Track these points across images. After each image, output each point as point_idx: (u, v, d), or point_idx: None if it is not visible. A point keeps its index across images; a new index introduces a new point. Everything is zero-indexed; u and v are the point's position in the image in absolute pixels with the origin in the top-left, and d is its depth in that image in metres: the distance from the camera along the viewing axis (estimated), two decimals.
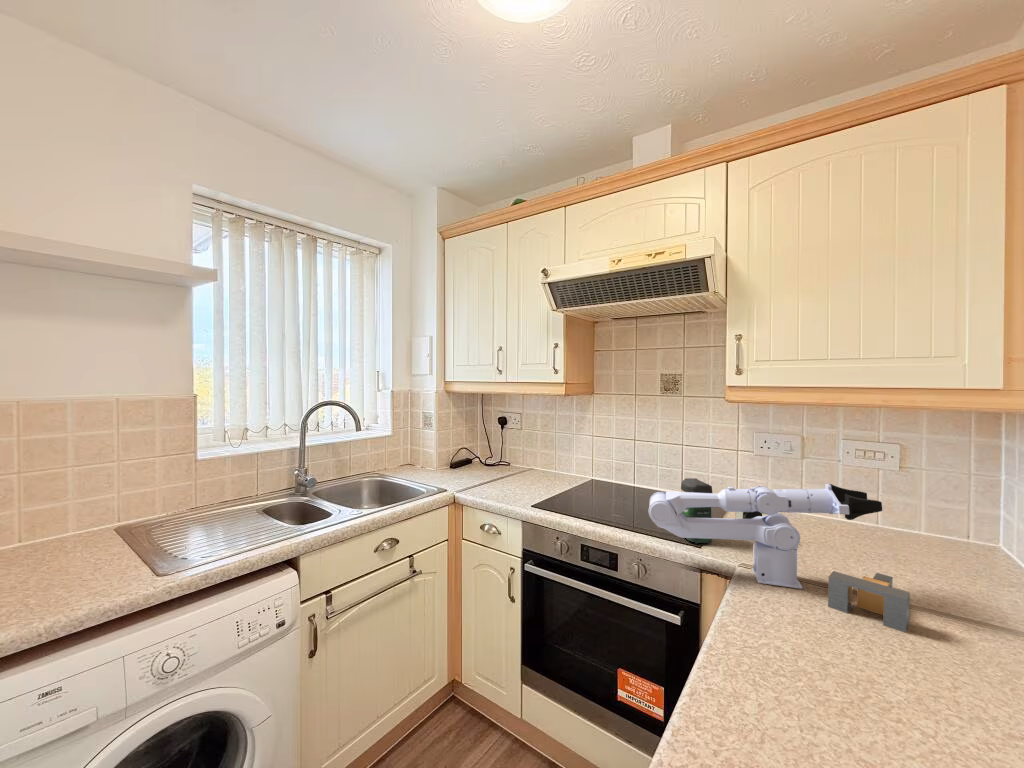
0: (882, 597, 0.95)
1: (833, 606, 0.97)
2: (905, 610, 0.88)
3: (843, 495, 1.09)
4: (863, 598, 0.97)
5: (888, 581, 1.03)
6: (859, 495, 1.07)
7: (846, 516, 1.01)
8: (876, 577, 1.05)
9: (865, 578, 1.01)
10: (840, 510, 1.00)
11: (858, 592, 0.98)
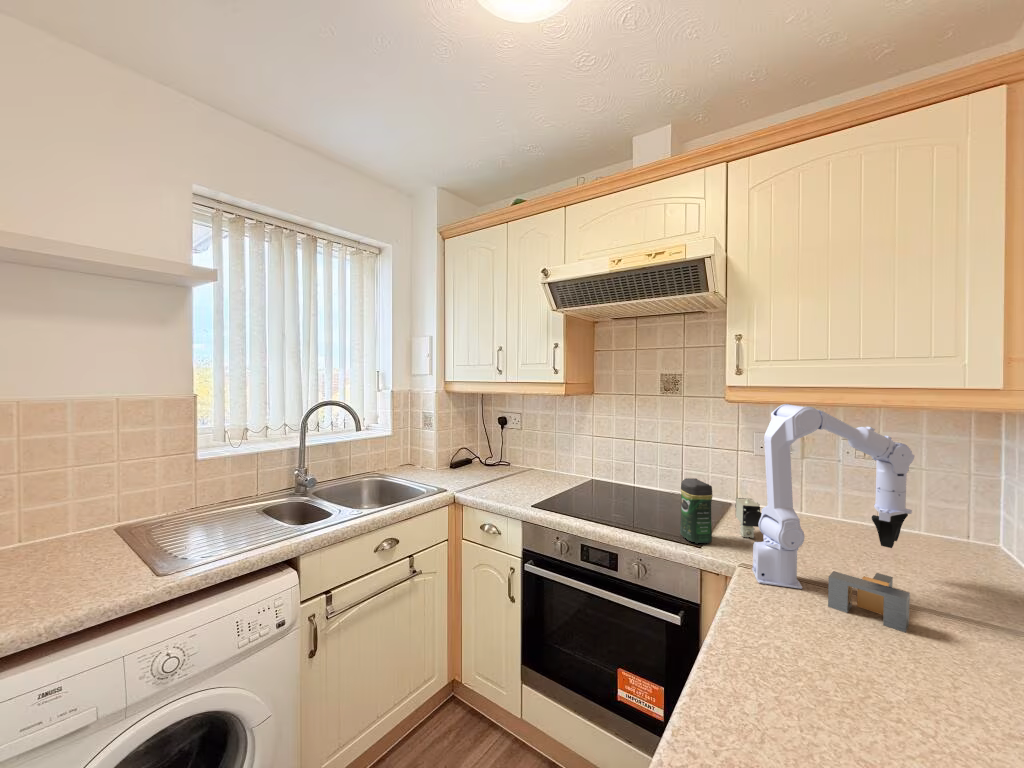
0: (882, 597, 0.95)
1: (833, 606, 0.97)
2: (905, 610, 0.88)
3: None
4: (863, 598, 0.97)
5: (888, 581, 1.03)
6: None
7: (875, 516, 1.09)
8: (876, 577, 1.05)
9: (865, 578, 1.01)
10: (884, 513, 1.05)
11: (858, 592, 0.98)
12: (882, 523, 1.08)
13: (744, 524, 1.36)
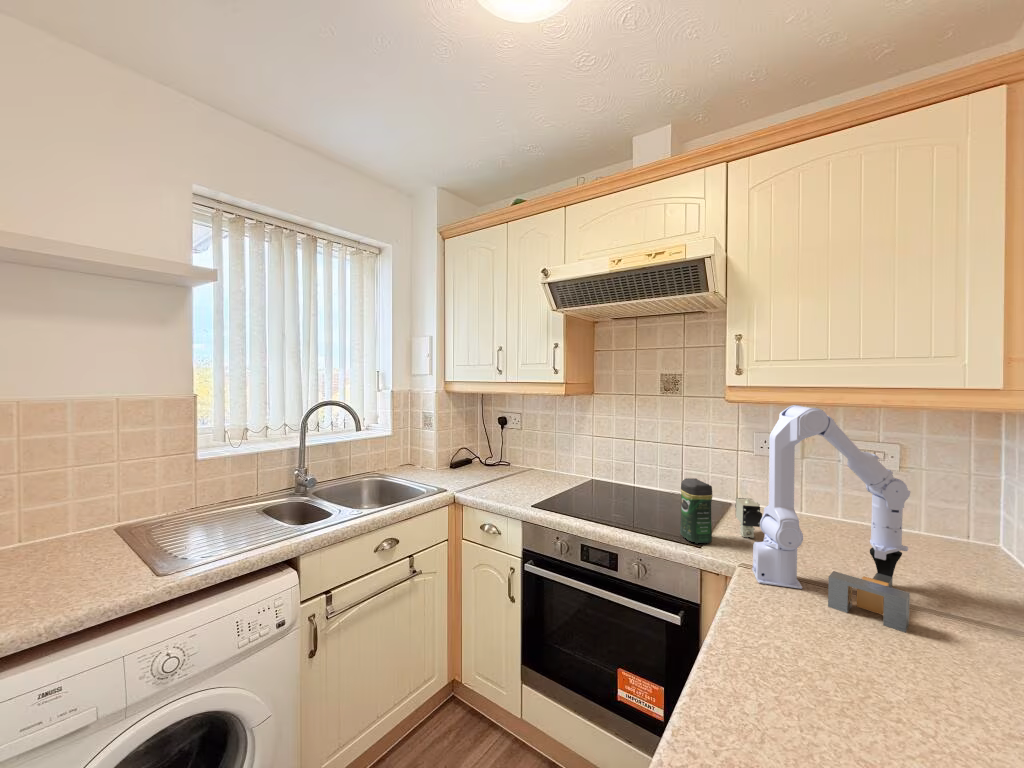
0: (882, 597, 0.95)
1: (833, 606, 0.97)
2: (905, 610, 0.88)
3: None
4: (862, 598, 0.97)
5: (888, 581, 1.03)
6: None
7: (873, 549, 1.08)
8: (876, 577, 1.05)
9: (865, 578, 1.01)
10: (879, 551, 1.02)
11: (858, 592, 0.98)
12: None
13: (744, 524, 1.36)
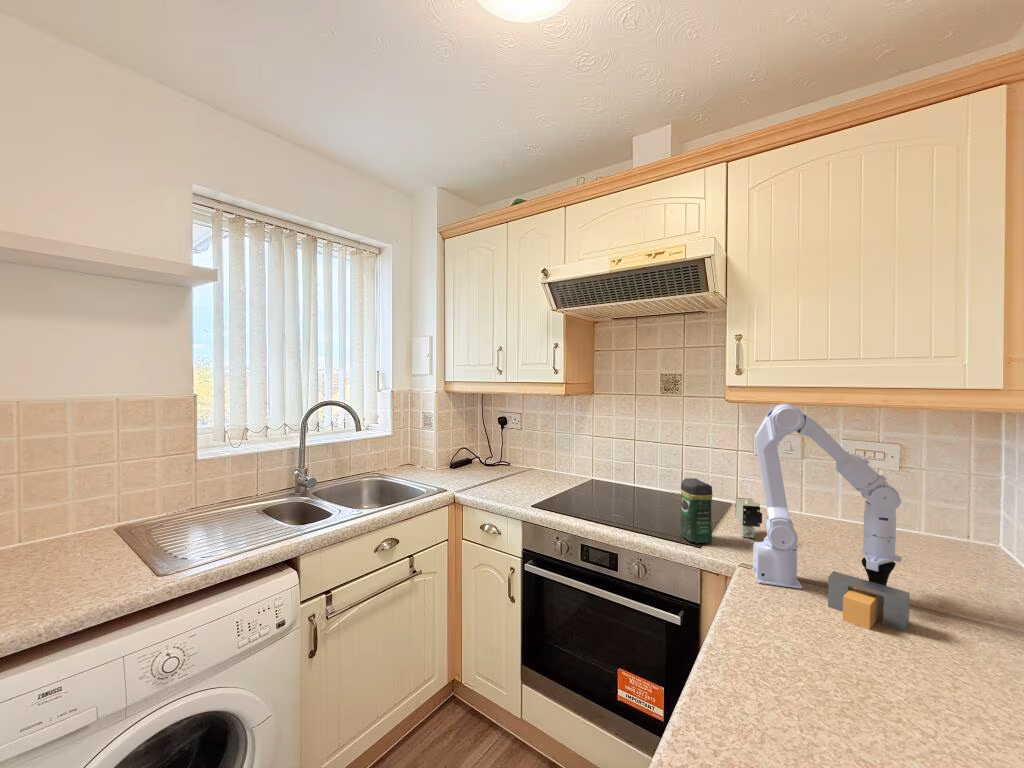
0: (868, 611, 0.89)
1: (833, 606, 0.97)
2: (905, 610, 0.88)
3: None
4: (848, 611, 0.92)
5: None
6: None
7: (865, 559, 1.02)
8: None
9: (853, 590, 0.95)
10: (871, 562, 0.97)
11: (844, 605, 0.93)
12: None
13: (744, 524, 1.36)
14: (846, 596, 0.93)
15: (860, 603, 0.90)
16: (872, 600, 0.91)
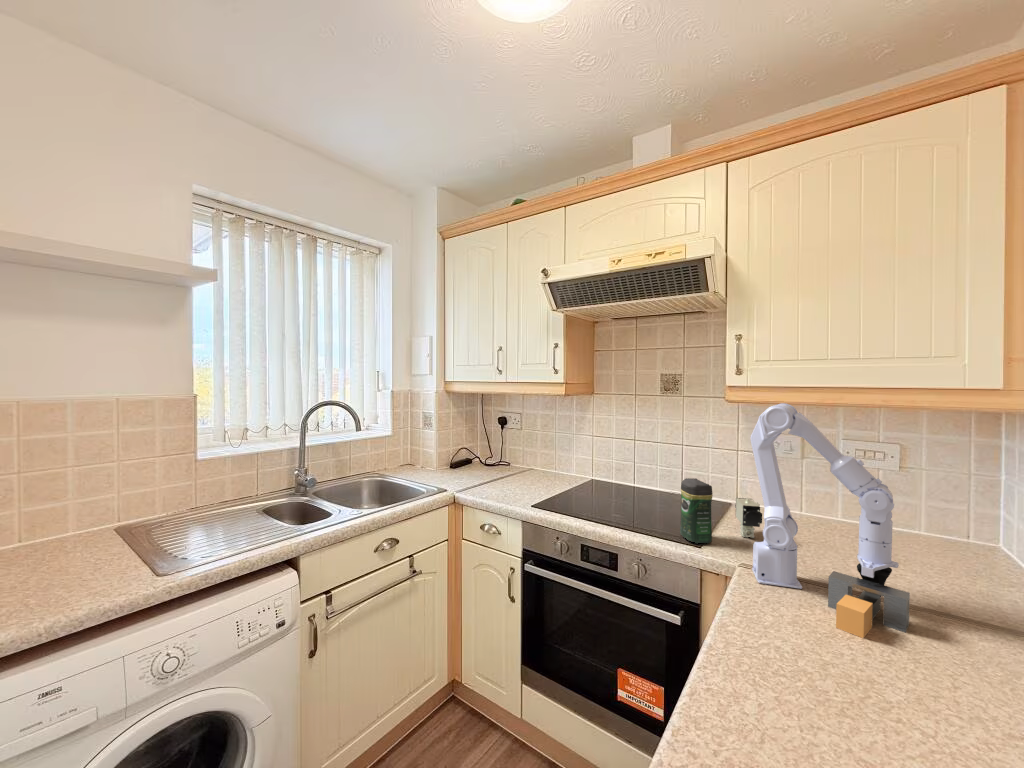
0: (862, 619, 0.86)
1: (833, 606, 0.97)
2: (905, 610, 0.88)
3: None
4: (842, 619, 0.89)
5: (874, 600, 0.95)
6: None
7: (860, 565, 0.99)
8: (862, 596, 0.97)
9: (847, 597, 0.92)
10: (866, 568, 0.94)
11: (837, 612, 0.90)
12: None
13: (744, 524, 1.36)
14: (840, 603, 0.90)
15: (854, 610, 0.87)
16: (866, 608, 0.88)
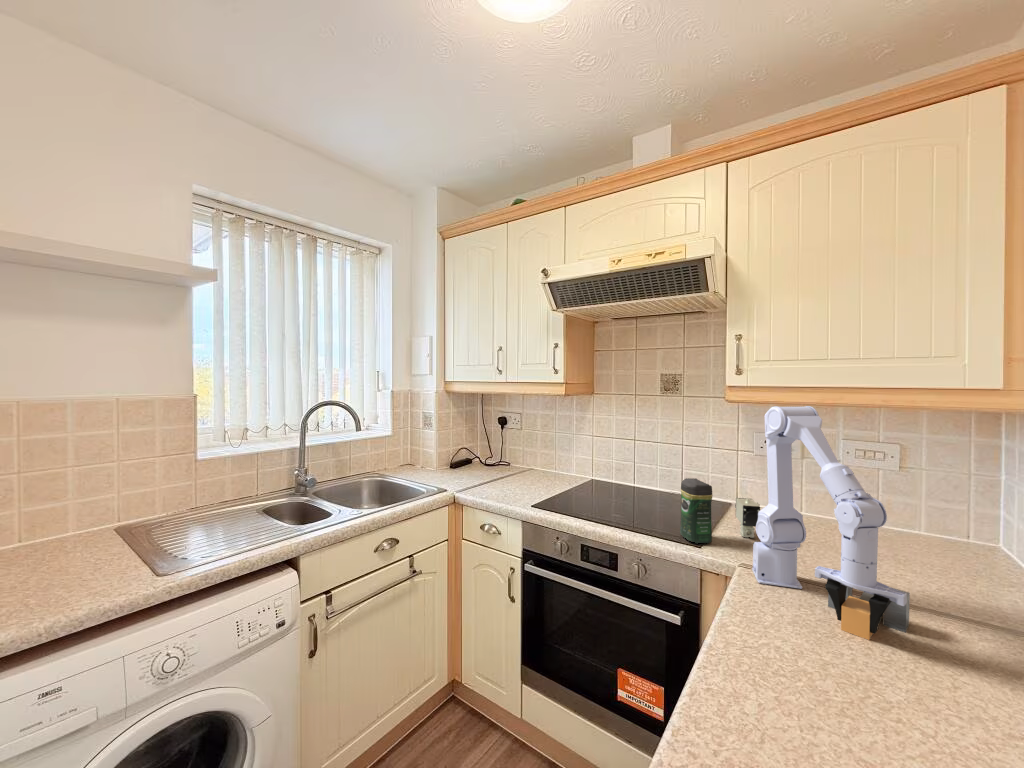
0: (868, 620, 0.86)
1: (833, 606, 0.97)
2: (905, 610, 0.88)
3: (843, 595, 0.91)
4: (847, 621, 0.88)
5: None
6: None
7: (876, 601, 0.84)
8: (863, 596, 0.96)
9: (850, 598, 0.92)
10: (905, 596, 0.82)
11: (842, 614, 0.89)
12: None
13: (744, 524, 1.36)
14: (844, 605, 0.89)
15: (859, 612, 0.87)
16: None
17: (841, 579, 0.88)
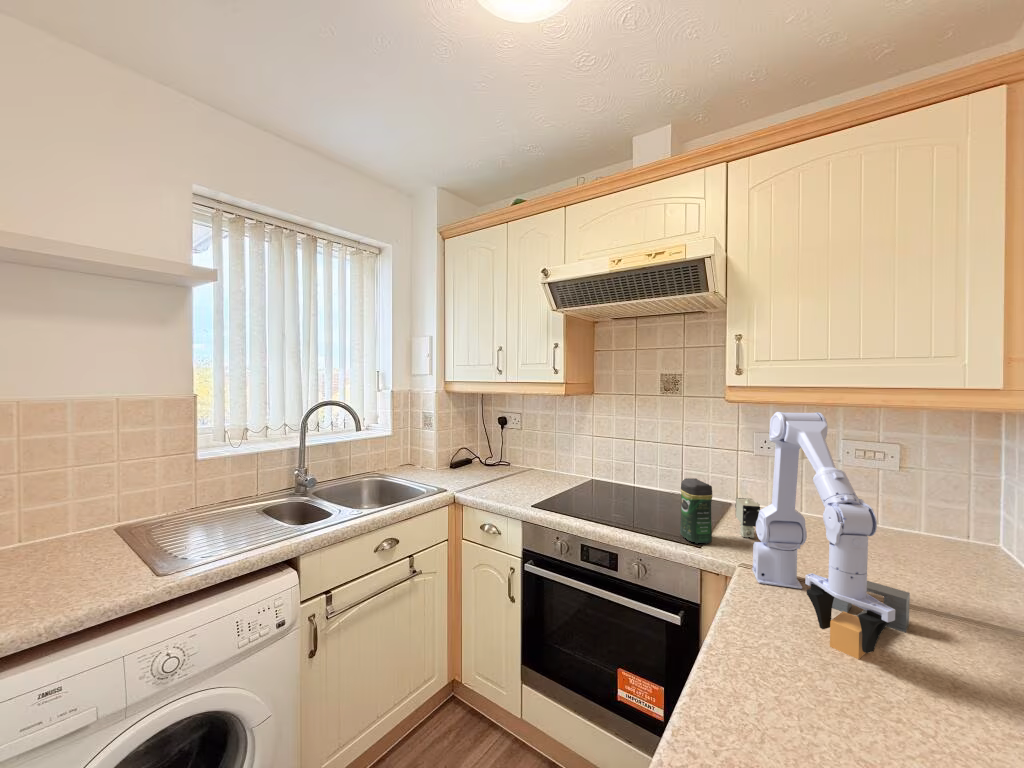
0: (857, 638, 0.80)
1: (833, 606, 0.97)
2: (905, 610, 0.88)
3: (827, 603, 0.86)
4: (836, 638, 0.83)
5: None
6: (828, 620, 0.86)
7: (866, 617, 0.77)
8: None
9: (844, 614, 0.86)
10: (891, 612, 0.75)
11: (831, 630, 0.84)
12: None
13: (744, 524, 1.36)
14: (834, 621, 0.84)
15: (848, 629, 0.81)
16: None
17: (826, 588, 0.83)
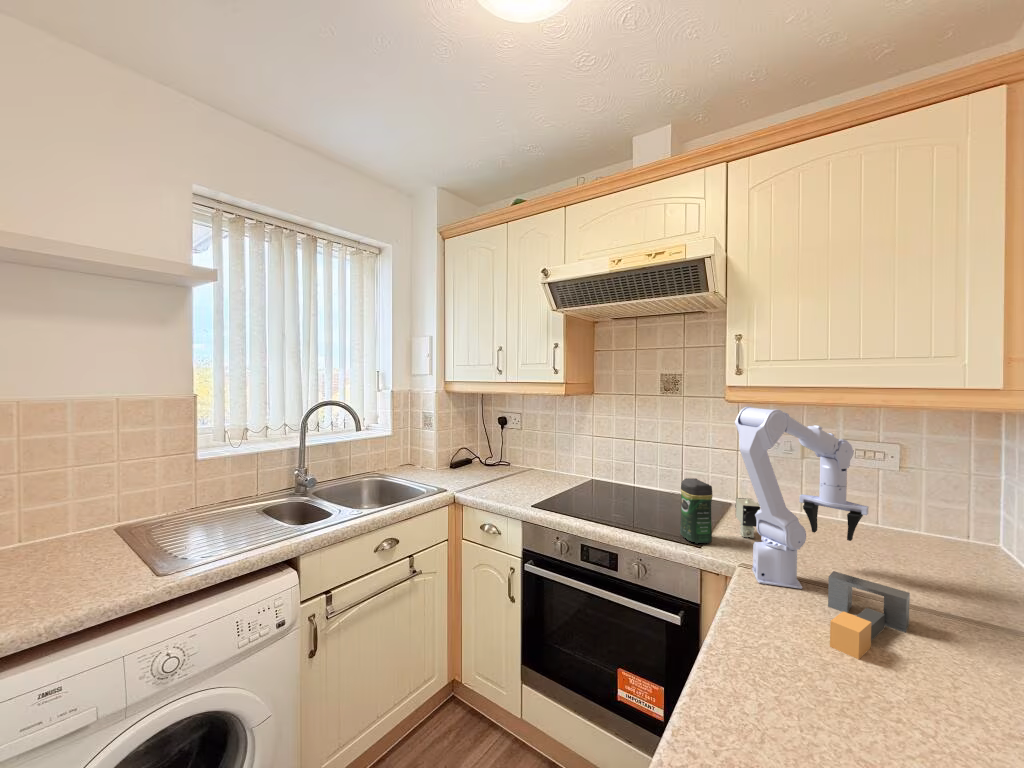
0: (857, 638, 0.80)
1: (833, 606, 0.97)
2: (905, 610, 0.88)
3: (815, 513, 1.18)
4: (836, 638, 0.83)
5: (876, 619, 0.88)
6: (816, 525, 1.18)
7: (852, 514, 1.10)
8: (863, 613, 0.90)
9: (844, 614, 0.86)
10: (867, 508, 1.09)
11: (831, 630, 0.84)
12: None
13: (744, 524, 1.36)
14: (834, 621, 0.84)
15: (848, 629, 0.81)
16: (863, 627, 0.82)
17: (820, 500, 1.15)
